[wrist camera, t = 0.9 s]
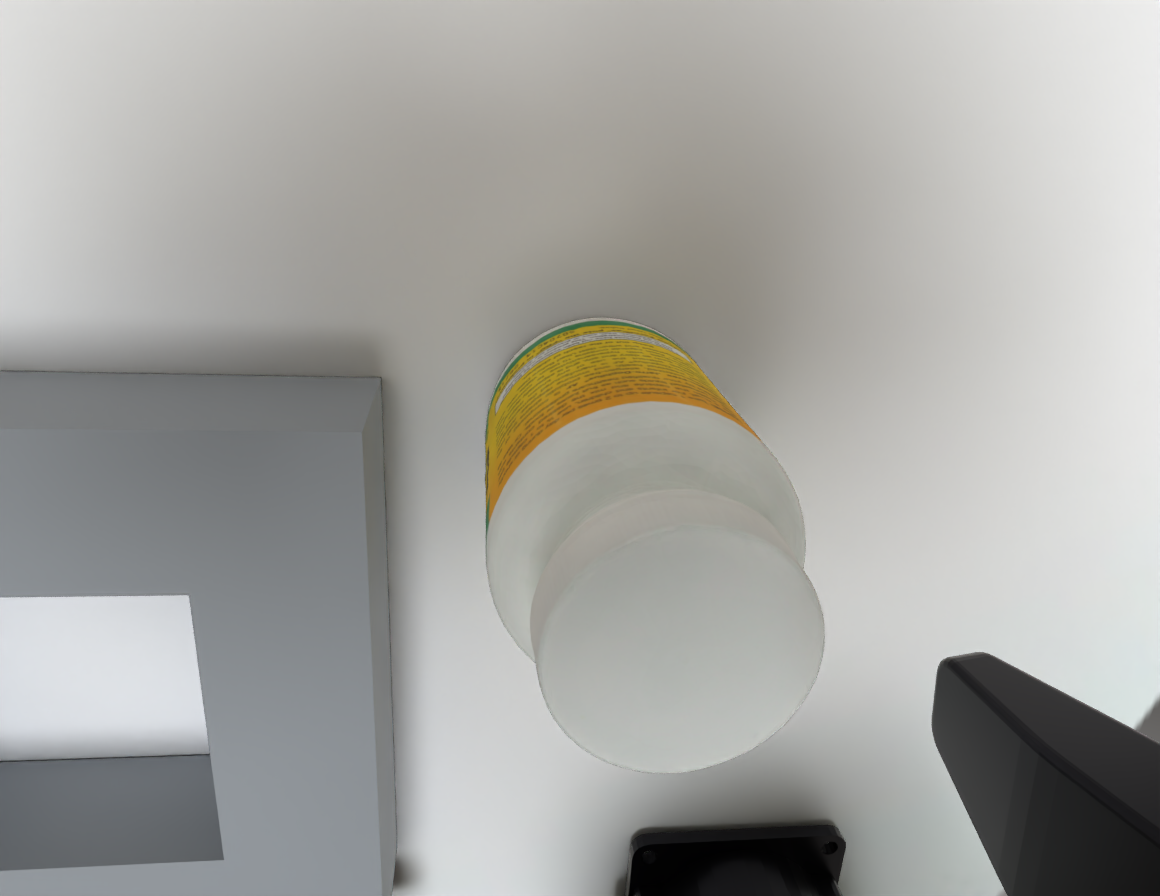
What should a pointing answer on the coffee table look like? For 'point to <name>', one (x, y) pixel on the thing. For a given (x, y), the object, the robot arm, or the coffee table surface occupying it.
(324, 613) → the socket block
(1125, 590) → the coffee table surface
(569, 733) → the supplement bottle
